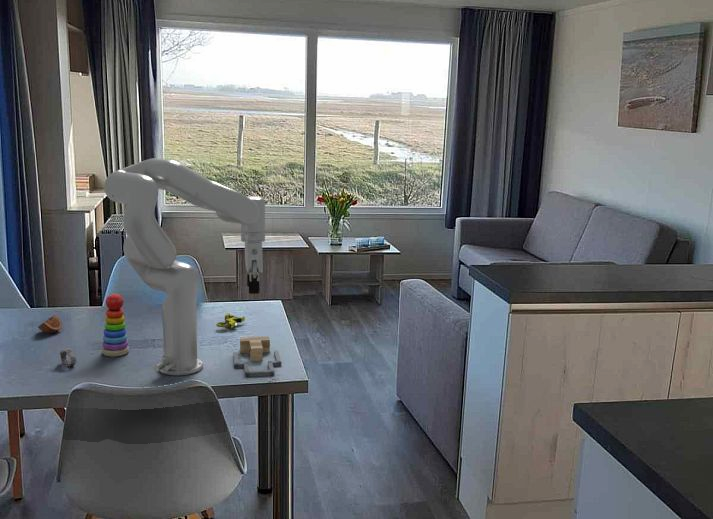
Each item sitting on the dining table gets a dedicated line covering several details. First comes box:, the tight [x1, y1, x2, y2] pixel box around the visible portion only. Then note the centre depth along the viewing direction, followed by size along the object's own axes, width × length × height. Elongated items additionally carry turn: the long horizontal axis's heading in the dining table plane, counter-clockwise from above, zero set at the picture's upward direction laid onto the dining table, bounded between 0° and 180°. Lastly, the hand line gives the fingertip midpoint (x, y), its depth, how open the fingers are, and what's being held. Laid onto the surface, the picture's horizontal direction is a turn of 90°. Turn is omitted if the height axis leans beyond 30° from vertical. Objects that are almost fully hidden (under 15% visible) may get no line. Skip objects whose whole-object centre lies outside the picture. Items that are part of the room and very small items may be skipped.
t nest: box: [232, 349, 282, 378], centre depth 205 cm, size 17×14×1 cm
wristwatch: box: [59, 347, 77, 367], centre depth 200 cm, size 4×6×5 cm, turn 51°
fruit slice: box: [37, 314, 63, 334], centre depth 227 cm, size 8×7×5 cm
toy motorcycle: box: [215, 312, 245, 329], centre depth 239 cm, size 12×4×7 cm
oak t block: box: [239, 335, 271, 362], centre depth 213 cm, size 10×9×4 cm
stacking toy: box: [101, 293, 130, 358], centre depth 209 cm, size 8×8×19 cm
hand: (253, 289), depth 220 cm, fingers open, 8 cm apart
